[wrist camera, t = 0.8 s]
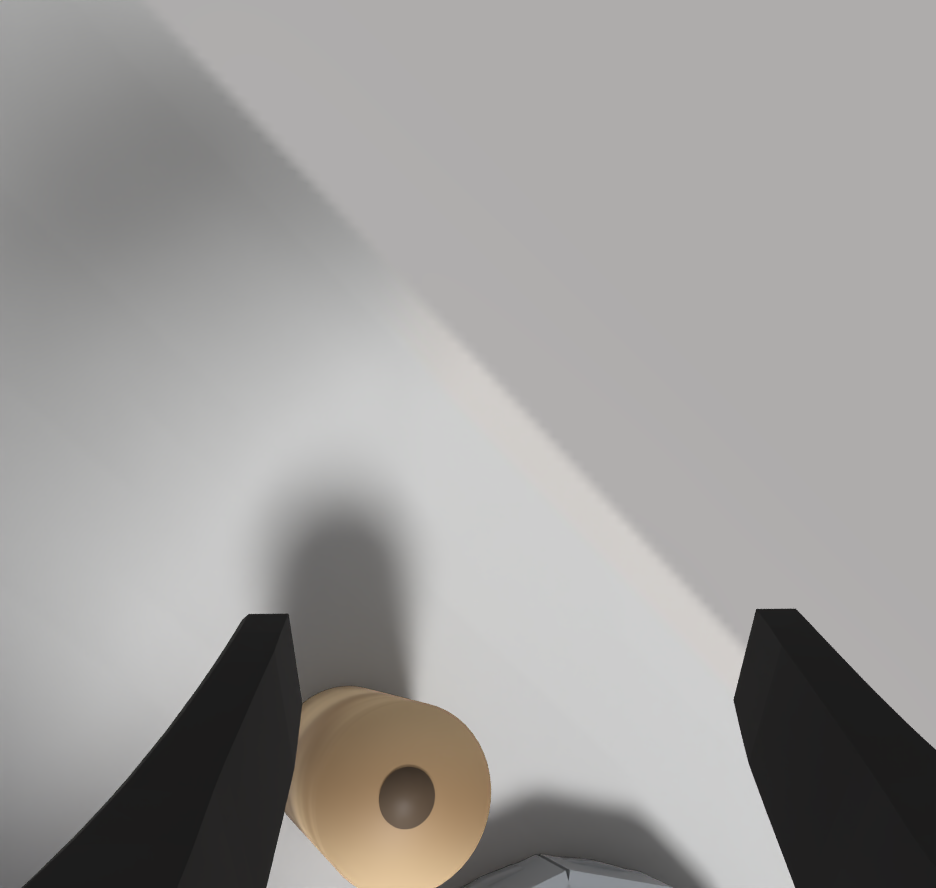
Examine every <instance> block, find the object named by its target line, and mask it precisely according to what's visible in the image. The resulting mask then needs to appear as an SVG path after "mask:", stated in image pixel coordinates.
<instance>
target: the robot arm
mask: <svg viewBox="0 0 936 888" xmlns="http://www.w3.org/2000/svg"><path fill="white" fill-rule="evenodd" d="M734 704H735V708H736V713H737V717H738V722H739V726H740V730H741V735H742V739H743V743H744V747H745V750H746V754H747V758H748V762H749V765H750V768H751V771H752V774H753V776H754V779H755V782H756V785H757V787H758V790H759V793H760V795H761V798H762V801H763V804H764V806H765V809H766V812H767V814H768V817H769V820H770V822H771V825H772V827H773V830H774V833H775V835H776V838H777V841H778V843H779V846H780V849H781V851H782V854H783V857H784V859H785V862H786V864H787V867H788V870H789V872H790V875H791V878H792V880H793V883H794V886H795V888H936V750H935V749H934V748H933V747H932V746H931V745H930V744H929V743H928V742H927V741H926V740H924V739H923V738H922V737H921V736H920V735H919V734H918V733H917V732H916V731H915V730H914V729H913V728H912V727H911V726H910V725H909V724H907V723H906V722H905V721H904V720H903V719H902V718H901V717H900V716H899V715H898V714H897V713H896V712H895V711H894V710H893V709H892V708H891V707H890V706H889V705H888V704H887V703H886V702H885V701H884V700H883V699H882V698H881V697H880V696H879V695H878V694H877V693H876V692H875V691H874V690H873V689H872V688H871V687H870V686H869V685H868V684H867V683H866V682H865V681H864V680H863V679H862V678H861V677H860V676H859V675H858V674H857V673H856V672H855V670H854V669H853V668H852V667H851V666H850V665H849V664H848V663H847V662H846V661H845V660H844V659H843V658H842V657H841V656H840V655H839V654H838V653H837V652H836V651H835V649H833V648H832V647H831V645H830V644H829V643H828V642H827V641H826V640H825V639H824V638H823V637H822V636H821V635H820V634H819V633H818V632H817V631H816V630H815V628H814V627H813V626H812V625H811V624H810V623H809V622H808V621H807V620H806V619H805V618H804V617H803V616H802V615H801V614H800V613H799V612H798V611H797V610H796V609H756V612H755V616H754V620H753V624H752V628H751V632H750V636H749V640H748V644H747V648H746V652H745V656H744V660H743V664H742V668H741V672H740V676H739V680H738V684H737V688H736V692H735V696H734ZM301 711H302V700H301V694H300V687H299V680H298V674H297V667H296V660H295V654H294V647H293V640H292V634H291V627H290V620H289V614H248V615H247V616H246V617H245V618H244V619H243V620H242V621H241V623H240V624H239V626H238V628H237V629H236V631H235V633H234V634H233V636H232V637H231V639H230V641H229V642H228V644H227V645H226V647H225V648H224V650H223V651H222V653H221V655H220V656H219V658H218V659H217V661H216V662H215V664H214V665H213V667H212V668H211V669H210V671H209V672H208V674H207V675H206V677H205V678H204V680H203V681H202V683H201V684H200V686H199V687H198V688H197V690H196V691H195V692H194V694H193V695H192V697H191V698H190V699H189V701H188V702H187V703H186V705H185V706H184V707H183V709H182V710H181V712H180V713H179V714H178V716H177V717H176V718H175V720H174V721H173V723H172V724H171V725H170V726H169V728H168V729H167V730H166V732H165V733H164V734H163V736H162V737H161V738H160V739H159V740H158V742H157V743H156V744H155V745H154V747H153V748H152V749H151V750H150V752H149V753H148V754H147V755H146V756H145V758H144V759H143V760H142V761H141V763H140V764H139V765H138V766H137V768H136V769H135V770H134V771H133V772H132V774H131V775H130V776H129V777H128V778H127V780H126V781H125V782H124V783H123V784H122V785H121V787H120V788H119V789H118V790H117V791H116V792H115V793H114V795H113V796H112V797H111V798H110V799H109V800H108V801H107V802H106V803H105V805H104V806H103V807H102V808H101V809H100V810H99V811H98V812H97V813H96V814H95V815H94V816H93V817H92V819H91V820H90V821H89V822H88V823H87V824H86V825H85V826H84V827H83V828H82V829H81V830H80V831H79V832H78V833H77V834H76V835H75V836H74V837H73V838H72V839H71V840H70V841H69V842H68V843H67V844H66V845H65V846H64V847H63V848H62V849H61V850H60V851H59V852H58V853H57V854H56V855H55V856H54V857H53V858H52V859H51V860H50V861H49V862H48V863H47V864H46V865H45V866H44V867H43V868H42V869H41V870H40V871H39V872H38V873H37V874H36V875H35V876H34V877H33V878H32V879H30V880H29V881H28V882H27V883H26V884H25V885H24V886H23V887H22V888H266V886H267V882H268V878H269V874H270V870H271V866H272V861H273V857H274V853H275V849H276V845H277V841H278V837H279V832H280V828H281V824H282V820H283V816H284V811H285V807H286V803H287V799H288V794H289V790H290V786H291V782H292V777H293V773H294V768H295V760H296V753H297V745H298V737H299V728H300V720H301Z"/></svg>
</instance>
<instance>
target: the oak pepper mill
mask: <svg viewBox="0 0 936 888" xmlns="http://www.w3.org/2000/svg"><path fill="white" fill-rule="evenodd" d="M490 802H491V783H490V774H489V769H488V764H487V761H486V758H485V755H484V753H483V751H482V749H481V746H480V744H479V742H478V741H477V739H476V738H475V736H474V735H473V733H472V732H471V731H470V730H469V729H468V727H467V726H466V725H465V724H464V723H463V722H462V721H460V720H459V719H458V718H457V717H455V716H454V715H452V714H451V713H449V712H448V711H446V710H444V709H441V708H439V707H437V706H433V705H430V704H427V703H423V702H419V701H415V700H411V699H407V698H403V697H399V696H395V695H391V694H387V693H383V692H379V691H375V690H371V689H367V688H363V687H356V686H342V687H335V688H331V689H328V690H325V691H323V692H320V693H318V694H316V695H314V696H313V697H311V698H309V699H308V700H307V701H305V702H304V703H303V704H302V711H301V720H300V728H299V737H298V745H297V753H296V760H295V768H294V773H293V777H292V782H291V786H290V790H289V794H288V799H287V803H286V807H285V811H284V812H285V813H286V815H287V816H288V817H289V818H290V819H291V820H292V821H293V822H294V823H295V825H296V826H297V827H298V828H299V829H300V830H301V831H302V832H303V833H304V834H305V836H306V837H307V838H308V839H309V840H310V841H311V842H312V843H313V844H314V845H315V847H316V848H317V849H318V850H319V851H320V852H321V853H322V854H323V855H324V856H325V857H326V859H327V860H328V861H329V862H330V863H331V864H332V865H333V866H334V867H335V868H336V870H337V871H338V872H339V873H340V874H341V875H342V876H343V877H344V878H345V879H346V880H348V881H349V882H350V883H351V884H353V885H354V886H356V887H358V888H436V887H438V886H439V885H441V884H443V883H444V882H445V881H447V880H448V879H450V878H451V877H452V876H453V875H454V874H455V873H456V872H457V871H458V870H460V869H461V867H462V866H463V865H464V864H465V863H466V861H467V860H468V859H469V858H470V856H471V855H472V853H473V852H474V850H475V849H476V847H477V845H478V843H479V841H480V839H481V837H482V834H483V831H484V829H485V826H486V823H487V819H488V815H489V809H490Z"/></svg>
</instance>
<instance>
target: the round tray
mask: <svg viewBox="0 0 936 888" xmlns="http://www.w3.org/2000/svg"><path fill="white" fill-rule="evenodd" d="M462 888H673V887H671V886H669V885H667V884H665V883H663V882H661V881H659V880H657V879H654V878H652V877H650V876H648V875H646V874H644V873H642V872H640V871H635V870H630V869H624V868H619V867H617V866H614V865H610V864H607V863H603V862H599V861H595V860H591V859H581V858H570V857H555V856H550V855H544V854H540V856H538V855H534V856H532V857H530V858H527V859H525V860H523V861H521V862H519V863H517V864H513V865H510V866H507V867H505V868H502V869H499V870H497V871H494V872H492V873H489V874H486V875H484V876H482V877H480V878H478V879H476V880H475V881H473V882H471V883H469V884H467V885H466V886H464V887H462Z"/></svg>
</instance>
